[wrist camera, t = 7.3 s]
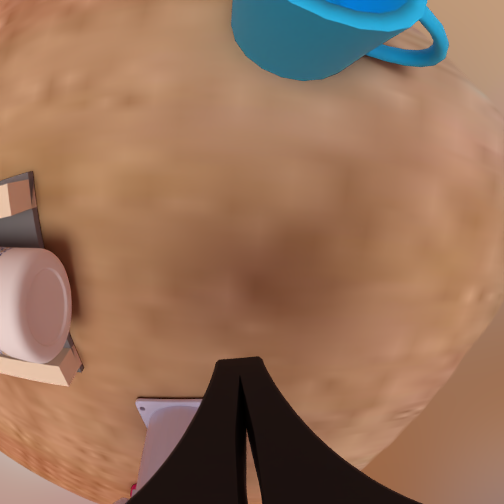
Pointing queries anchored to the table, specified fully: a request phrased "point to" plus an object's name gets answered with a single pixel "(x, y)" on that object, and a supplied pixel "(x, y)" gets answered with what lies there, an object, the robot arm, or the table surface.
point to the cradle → (29, 236)
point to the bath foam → (33, 304)
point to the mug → (331, 34)
